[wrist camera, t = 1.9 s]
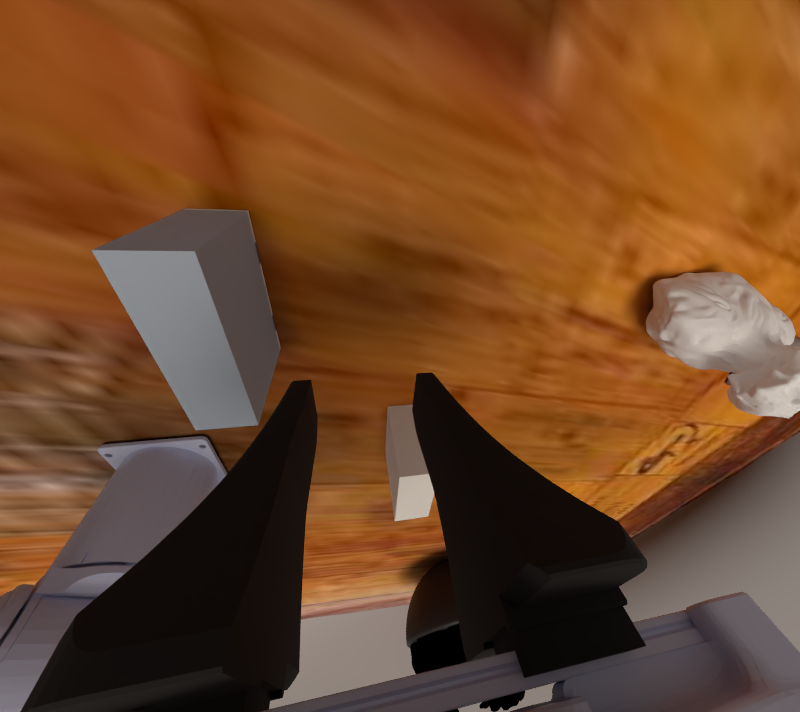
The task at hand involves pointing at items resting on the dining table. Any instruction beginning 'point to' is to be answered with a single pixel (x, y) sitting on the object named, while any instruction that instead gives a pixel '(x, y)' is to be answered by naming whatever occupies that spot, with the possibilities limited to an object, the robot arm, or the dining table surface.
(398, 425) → the light grey square block
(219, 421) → the gray rectangular block
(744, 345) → the bust
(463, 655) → the coal bowl
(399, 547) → the dining table surface
